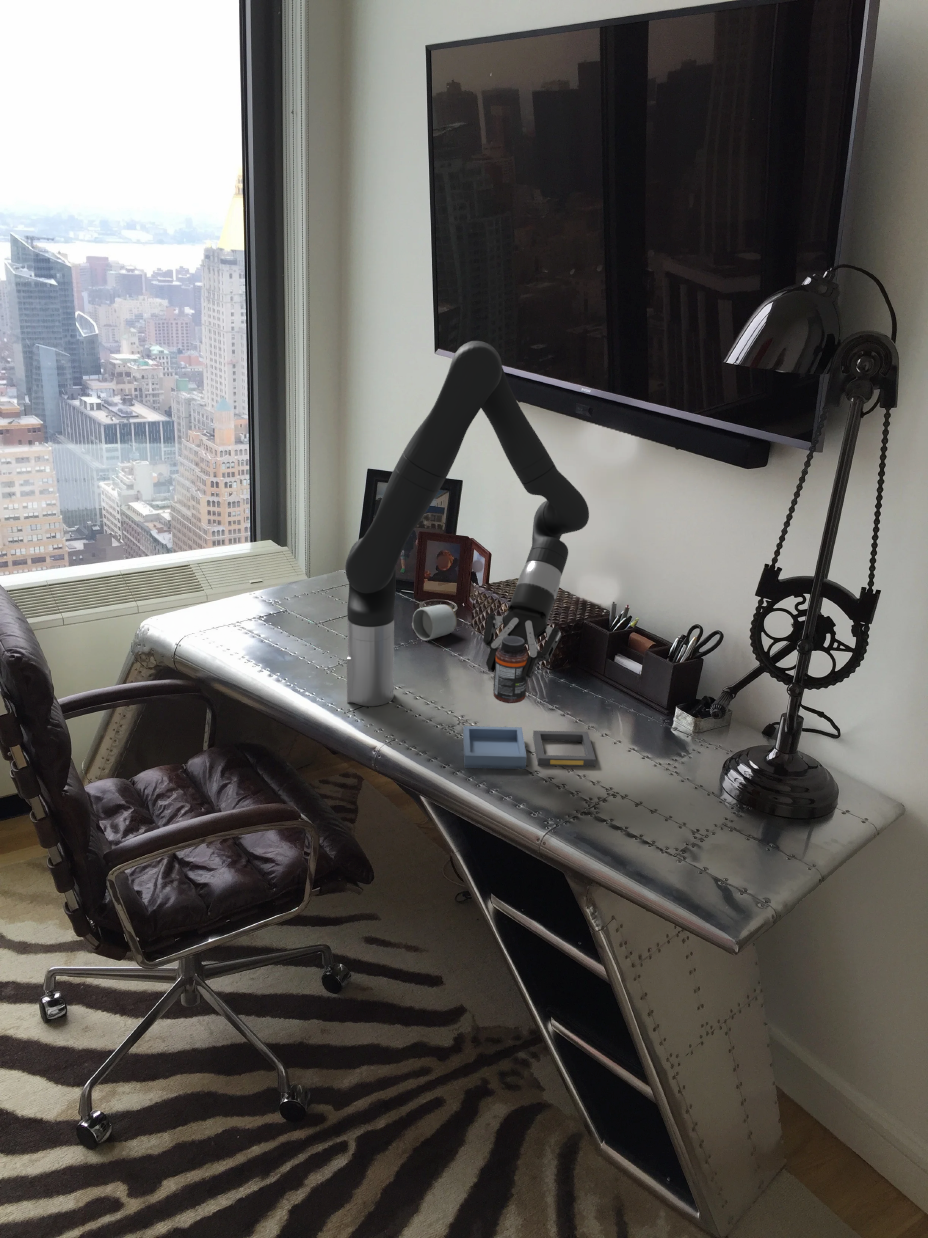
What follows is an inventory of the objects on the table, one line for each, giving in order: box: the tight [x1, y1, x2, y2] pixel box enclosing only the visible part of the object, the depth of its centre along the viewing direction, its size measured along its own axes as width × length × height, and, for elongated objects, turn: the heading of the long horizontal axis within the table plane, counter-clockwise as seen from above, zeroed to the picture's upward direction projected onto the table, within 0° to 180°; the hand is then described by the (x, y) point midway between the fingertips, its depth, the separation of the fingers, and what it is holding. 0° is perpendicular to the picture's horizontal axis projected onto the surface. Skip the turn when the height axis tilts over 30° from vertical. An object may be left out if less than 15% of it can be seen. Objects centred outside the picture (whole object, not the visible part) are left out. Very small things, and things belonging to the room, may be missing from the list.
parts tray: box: [462, 725, 527, 770], centre depth 182 cm, size 11×11×2 cm
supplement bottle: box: [492, 636, 530, 704], centre depth 177 cm, size 6×6×11 cm
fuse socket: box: [532, 730, 597, 768], centre depth 184 cm, size 10×10×2 cm
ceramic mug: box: [411, 604, 458, 641], centre depth 233 cm, size 11×8×8 cm
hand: (507, 674), depth 175 cm, fingers closed on supplement bottle, 6 cm apart
